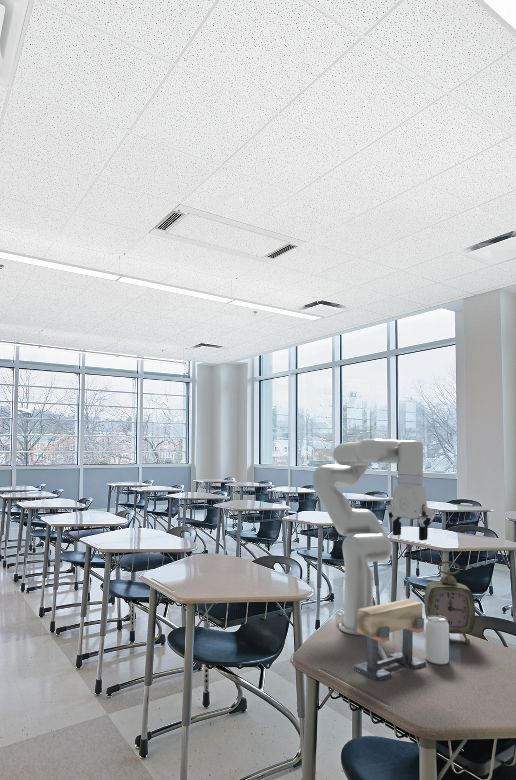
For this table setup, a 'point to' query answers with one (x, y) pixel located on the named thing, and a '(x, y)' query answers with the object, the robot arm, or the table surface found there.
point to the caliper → (381, 652)
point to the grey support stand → (404, 657)
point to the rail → (388, 616)
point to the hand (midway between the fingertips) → (409, 537)
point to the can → (437, 640)
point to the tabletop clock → (451, 603)
